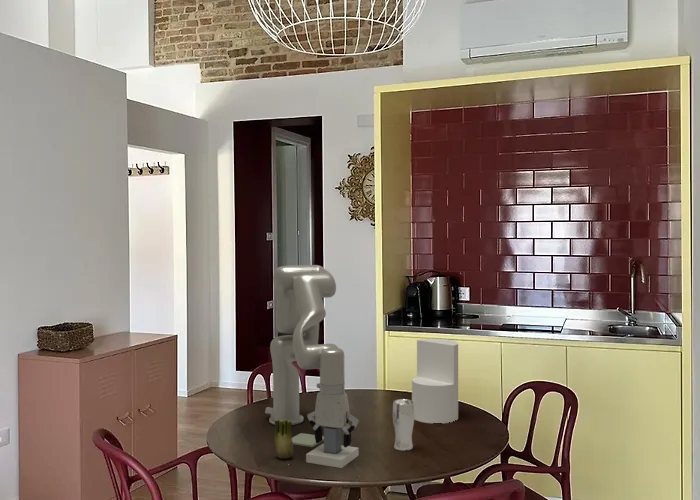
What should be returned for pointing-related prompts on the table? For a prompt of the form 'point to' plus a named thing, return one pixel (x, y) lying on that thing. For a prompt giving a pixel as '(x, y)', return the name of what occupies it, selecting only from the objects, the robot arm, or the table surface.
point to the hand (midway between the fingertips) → (332, 444)
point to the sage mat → (305, 440)
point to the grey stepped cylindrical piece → (436, 381)
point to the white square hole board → (332, 456)
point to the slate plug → (332, 440)
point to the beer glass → (403, 423)
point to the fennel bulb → (283, 439)
